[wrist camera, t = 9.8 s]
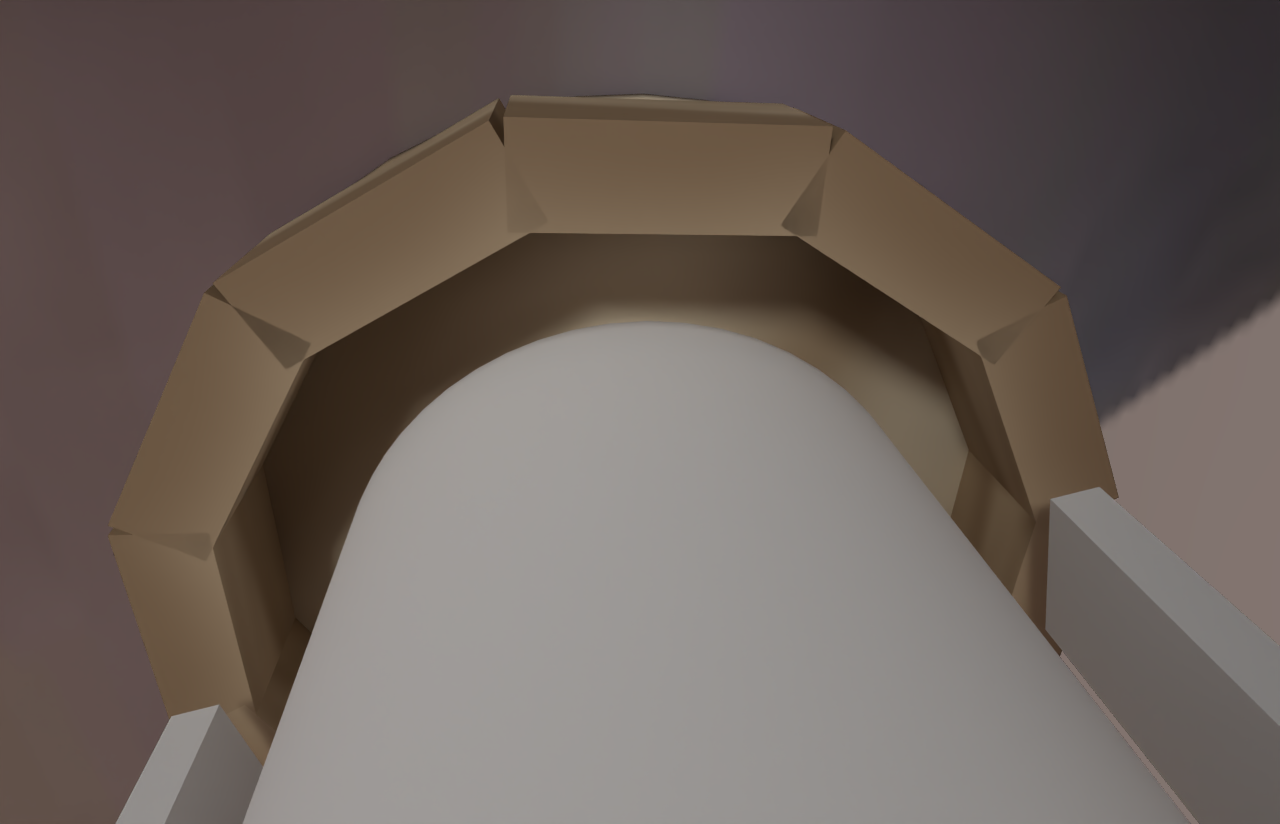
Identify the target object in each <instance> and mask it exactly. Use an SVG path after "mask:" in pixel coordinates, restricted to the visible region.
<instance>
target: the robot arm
mask: <svg viewBox="0 0 1280 824" xmlns="http://www.w3.org/2000/svg"><path fill="white" fill-rule="evenodd" d="M1045 630H1046V631H1047V632H1048V633H1049V635H1050V636H1051V637H1052V638H1053V640H1054V641H1055V642H1056V643H1057V645H1058V646H1059V647H1060V648H1061V650H1062V651H1063V652H1064V654H1065V655H1066V656H1067V657H1068V658H1069V660H1070V661H1071V662H1072V664H1073V665H1074V666H1075V667H1076V669H1077V670H1078V671H1079V672H1080V674H1081V675H1082V676H1083V677H1084V679H1085V680H1086V681H1087V682H1088V684H1089V685H1090V686H1091V688H1092V689H1093V690H1094V691H1095V693H1096V694H1097V695H1098V696H1099V698H1100V699H1101V700H1102V701H1103V703H1104V704H1105V705H1106V706H1107V708H1108V709H1109V710H1110V712H1112V714H1113V715H1114V717H1115V718H1116V719H1117V720H1118V722H1119V723H1120V724H1121V725H1122V727H1123V728H1124V729H1125V730H1126V732H1127V733H1128V734H1129V735H1130V737H1131V738H1132V739H1133V740H1134V742H1135V743H1136V744H1137V746H1138V747H1139V748H1140V749H1141V751H1142V752H1143V753H1144V754H1145V756H1146V757H1147V758H1148V759H1149V761H1150V762H1151V763H1152V764H1153V766H1154V767H1155V768H1156V770H1157V771H1158V772H1159V773H1160V775H1161V776H1162V777H1163V778H1164V780H1165V781H1166V782H1167V783H1168V785H1169V786H1170V787H1171V789H1172V790H1173V791H1174V792H1175V794H1176V795H1177V796H1178V797H1179V798H1180V800H1181V801H1182V802H1183V804H1184V805H1185V806H1186V807H1187V808H1188V810H1189V811H1190V812H1191V814H1192V815H1193V816H1194V817H1195V819H1196V820H1197V821H1198V822H1199V824H1280V646H1279V645H1278V644H1277V643H1276V642H1275V641H1274V640H1272V639H1271V638H1270V637H1269V636H1268V635H1267V634H1266V633H1265V632H1263V631H1262V630H1261V629H1260V628H1259V627H1258V626H1256V625H1255V624H1254V623H1253V622H1252V621H1251V620H1250V619H1249V618H1248V617H1246V616H1245V615H1244V614H1243V613H1242V612H1241V611H1240V610H1238V609H1237V608H1236V607H1235V606H1234V605H1233V604H1232V603H1231V602H1229V601H1228V600H1227V599H1226V598H1225V597H1224V596H1222V595H1221V594H1220V593H1219V592H1218V591H1217V590H1216V589H1215V588H1214V587H1212V586H1211V585H1210V584H1209V583H1208V582H1207V581H1206V580H1204V579H1203V578H1202V577H1201V576H1200V575H1199V574H1198V573H1197V572H1195V571H1194V570H1193V569H1192V568H1191V567H1190V566H1188V565H1187V564H1186V563H1185V562H1184V561H1183V560H1182V559H1181V558H1179V557H1178V556H1177V555H1176V554H1175V553H1174V552H1173V551H1172V550H1170V549H1169V548H1168V547H1167V546H1166V545H1165V544H1164V543H1163V542H1161V541H1160V540H1159V539H1158V538H1157V537H1156V536H1155V535H1153V534H1152V533H1151V532H1150V531H1149V530H1148V529H1146V528H1145V527H1144V526H1143V525H1142V524H1141V523H1140V522H1139V521H1138V520H1136V519H1135V518H1134V517H1133V516H1132V515H1131V514H1130V513H1128V512H1127V511H1126V510H1125V509H1124V508H1123V507H1122V506H1121V505H1119V504H1118V503H1117V502H1116V501H1115V500H1114V499H1113V498H1111V497H1110V496H1109V495H1108V494H1107V493H1106V492H1105V491H1104V490H1102V489H1101V488H1100V487H1097V488H1093V489H1089V490H1084V491H1080V492H1076V493H1072V494H1068V495H1064V496H1060V497H1056V498H1052V499H1050V520H1049V547H1048V573H1047V599H1046V626H1045ZM262 769H263V766H262V765H261V763H260V762H259V760H258V759H257V757H256V756H255V755H254V753H253V752H252V750H251V749H250V747H249V746H248V745H247V743H246V742H245V740H244V739H243V737H242V736H241V735H240V733H239V732H238V730H237V729H236V727H235V726H234V725H233V723H232V722H231V720H230V719H229V717H228V716H227V715H226V713H225V712H224V710H223V709H222V707H221V706H220V705H215V706H211V707H207V708H203V709H199V710H195V711H191V712H187V713H183V714H179V715H175V716H171V718H170V720H169V722H168V724H167V726H166V728H165V730H164V732H163V734H162V735H161V737H160V739H159V741H158V743H157V745H156V747H155V749H154V751H153V753H152V755H151V757H150V759H149V761H148V762H147V764H146V766H145V768H144V770H143V772H142V774H141V776H140V778H139V780H138V782H137V784H136V786H135V787H134V789H133V791H132V793H131V795H130V797H129V799H128V801H127V803H126V805H125V807H124V809H123V811H122V813H121V814H120V816H119V818H118V820H117V822H116V824H243V821H244V818H245V815H246V813H247V810H248V807H249V805H250V802H251V799H252V796H253V794H254V791H255V788H256V785H257V783H258V780H259V777H260V774H261V772H262Z"/></svg>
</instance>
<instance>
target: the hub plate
mask: <svg viewBox="0 0 1280 824" xmlns="http://www.w3.org/2000/svg"><path fill="white" fill-rule="evenodd" d="M213 284H214V285H213V286H212V287H210V288H209V289H208V290H207V291H206V292H205V293H204V295H203V297H202V299H201V302H200V304H199V307H198V309H197V311H196V314H195V316H194V319H193V321H192V324H191V326H190V328H189V331H188V333H187V336H186V338H185V340H184V343H183V345H182V348H181V350H180V353H179V355H178V357H177V360H176V362H175V365H174V367H173V369H172V372H171V374H170V377H169V379H168V382H167V384H166V386H165V389H164V391H163V394H162V396H161V399H160V401H159V403H158V406H157V408H156V411H155V413H154V415H153V418H152V420H151V423H150V425H149V428H148V430H147V432H146V435H145V437H144V440H143V442H142V444H141V447H140V449H139V452H138V454H137V457H136V459H135V461H134V464H133V466H132V469H131V471H130V473H129V476H128V478H127V481H126V483H125V486H124V488H123V490H122V493H121V495H120V498H119V500H118V503H117V505H116V507H115V510H114V512H113V515H112V517H111V519H110V522H109V524H108V526H110V527H113V530H112V531H111V532H110V533H109V535H108V538H109V541H110V544H111V547H112V550H113V553H114V556H115V559H116V562H117V565H118V568H119V571H120V574H121V577H122V580H123V583H124V586H125V589H126V592H127V595H128V598H129V601H130V604H131V606H132V609H133V612H134V615H135V618H136V621H137V624H138V627H139V630H140V633H141V636H142V639H143V642H144V645H145V648H146V651H147V654H148V657H149V660H150V663H151V666H152V669H153V672H154V675H155V678H156V681H157V684H158V687H159V690H160V693H161V696H162V699H163V702H164V705H165V708H166V711H167V714H168V717H169V720H170V718H171V716H175V715H179V714H183V713H187V712H191V711H195V710H199V709H203V708H207V707H211V706H215V705H220V706H221V707H222V709H223V710H224V712H225V713H226V715H227V716H228V717H229V719H230V720H231V722H232V723H233V725H234V726H235V727H236V729H237V730H238V732H239V733H240V735H241V736H242V737H243V739H244V740H245V742H246V743H247V745H248V746H249V747H250V749H251V750H252V752H253V753H254V755H255V756H256V757H257V759H258V760H259V762H260V763H261V765H262V766H264V764H265V761H266V758H267V755H268V753H269V750H270V747H271V744H272V742H273V739H274V736H275V733H276V731H277V728H278V725H279V722H280V720H281V717H282V714H283V711H284V709H285V706H286V703H287V700H288V698H289V695H290V692H291V689H292V687H293V684H294V681H295V678H296V676H297V673H298V670H299V667H300V665H301V662H302V659H303V656H304V653H305V651H306V648H307V645H308V642H309V640H310V637H311V634H312V631H313V629H314V626H315V623H316V620H317V618H318V615H319V612H320V609H321V607H322V604H323V601H324V598H325V596H326V593H327V590H328V587H329V584H330V582H331V579H332V576H333V573H334V571H335V568H336V565H337V562H338V560H339V557H340V554H341V551H342V549H343V546H344V543H345V540H346V538H347V535H348V532H349V529H350V527H351V524H352V521H353V518H354V516H355V513H356V510H357V507H358V505H359V502H360V500H361V498H362V495H363V493H364V491H365V489H366V487H367V485H368V483H369V481H370V479H371V477H372V475H373V473H374V472H375V470H376V468H377V467H378V465H379V463H380V462H381V460H382V459H383V457H384V455H385V454H386V452H387V451H388V450H389V448H390V447H391V446H392V444H393V443H394V442H395V440H396V439H397V438H398V437H399V435H400V434H401V433H402V432H403V431H404V430H405V428H406V427H407V426H408V425H409V424H410V423H411V422H412V421H413V420H414V419H415V418H416V417H417V416H418V415H419V414H420V412H421V411H422V410H423V409H424V408H426V407H427V406H428V405H429V404H430V403H431V402H433V401H434V400H435V399H436V398H437V397H438V396H440V395H441V394H442V393H443V392H444V391H445V390H447V389H448V388H449V387H451V386H452V385H454V384H455V383H457V382H458V381H459V380H461V379H462V378H464V377H465V376H467V375H468V374H470V373H471V372H473V371H474V370H476V369H478V368H479V367H481V366H483V365H485V364H487V363H489V362H491V361H492V360H494V359H496V358H498V357H500V356H502V355H504V354H505V353H508V352H510V351H513V350H515V349H517V348H520V347H522V346H525V345H527V344H530V343H532V342H535V341H537V340H540V339H543V338H547V337H550V336H554V335H557V334H561V333H564V332H567V331H571V330H575V329H581V328H586V327H592V326H598V325H603V324H609V323H623V322H638V321H660V322H681V323H689V324H696V325H702V326H708V327H714V328H720V329H724V330H728V331H731V332H735V333H738V334H742V335H745V336H749V337H752V338H756V339H758V340H761V341H763V342H766V343H768V344H770V345H773V346H775V347H778V348H780V349H782V350H785V351H787V352H789V353H791V354H793V355H794V356H796V357H798V358H800V359H801V360H803V361H805V362H807V363H808V364H810V365H812V366H814V367H815V368H817V369H819V370H820V371H821V372H823V373H824V374H825V375H827V376H828V377H829V378H831V379H832V380H833V381H835V382H836V383H837V384H839V385H840V386H841V387H842V388H844V389H845V390H846V391H847V392H848V393H849V394H850V395H851V396H852V397H854V398H855V399H856V400H857V401H858V402H859V403H860V404H861V405H862V406H863V407H864V408H865V409H866V410H867V412H868V413H869V414H870V415H871V416H872V417H873V419H874V420H875V421H876V422H877V424H878V425H879V426H880V428H881V429H882V430H883V431H884V433H885V434H886V435H887V436H888V438H889V439H890V440H891V442H892V443H893V444H894V445H895V447H896V448H897V449H898V451H899V452H900V453H901V454H902V456H903V457H904V458H905V460H906V461H907V462H908V463H909V465H910V466H911V467H912V468H913V470H914V471H915V472H916V474H917V475H918V476H919V477H920V479H921V480H922V481H923V483H924V484H925V485H926V486H927V488H928V489H929V490H930V492H931V493H932V494H933V495H934V497H935V498H936V499H937V500H938V502H939V503H940V504H941V506H942V507H943V508H944V509H945V511H946V512H947V513H948V515H949V516H950V517H951V518H952V520H953V521H954V522H955V523H956V525H957V526H958V527H959V529H960V530H961V531H962V532H963V534H964V535H965V536H966V538H967V539H968V540H969V541H970V543H971V544H972V545H973V547H974V548H975V549H976V550H977V552H978V553H979V554H980V555H981V557H982V558H983V559H984V561H985V562H986V563H987V564H988V566H989V567H990V568H991V570H992V571H993V572H994V573H995V575H996V576H997V577H998V579H999V580H1000V581H1001V582H1002V584H1003V585H1004V586H1005V587H1006V589H1007V590H1008V591H1009V593H1010V594H1011V595H1012V596H1013V598H1014V599H1015V600H1016V601H1017V603H1018V604H1019V605H1020V607H1021V608H1022V609H1023V610H1024V612H1025V613H1026V614H1027V615H1028V617H1029V618H1030V619H1031V621H1032V622H1033V623H1034V624H1035V626H1036V627H1037V628H1038V630H1039V631H1040V632H1041V633H1042V635H1043V636H1044V637H1045V638H1046V640H1047V641H1048V642H1049V644H1050V645H1051V646H1052V647H1053V649H1054V650H1055V651H1056V652H1057V654H1058V655H1059V656H1060V654H1061V652H1062V650H1061V648H1060V647H1059V646H1058V645H1057V643H1056V642H1055V641H1054V640H1053V638H1052V637H1051V636H1050V635H1049V633H1048V632H1047V631H1046V630H1045V626H1046V599H1047V573H1048V547H1049V520H1050V499H1052V498H1056V497H1060V496H1064V495H1068V494H1072V493H1076V492H1080V491H1084V490H1089V489H1093V488H1097V487H1100V488H1101V489H1102V490H1104V491H1105V492H1106V493H1107V494H1108V495H1109V496H1110V497H1111V498H1113V499H1116V498H1118V493H1117V489H1116V485H1115V481H1114V477H1113V473H1112V469H1111V466H1110V462H1109V458H1108V454H1107V450H1106V446H1105V442H1104V439H1103V435H1102V431H1101V427H1100V423H1099V419H1098V415H1097V411H1096V407H1095V404H1094V400H1093V396H1092V392H1091V388H1090V384H1089V380H1088V376H1087V373H1086V369H1085V365H1084V361H1083V357H1082V353H1081V349H1080V345H1079V342H1078V338H1077V334H1076V330H1075V326H1074V322H1073V318H1072V314H1071V311H1070V307H1069V303H1068V299H1067V296H1066V295H1064V294H1063V293H1061V292H1059V291H1058V290H1059V289H1060V288H1061V287H1060V286H1058V285H1057V284H1056V283H1054V282H1053V281H1052V280H1050V279H1049V278H1048V277H1046V276H1045V275H1043V274H1042V273H1041V272H1039V271H1038V270H1037V269H1035V268H1034V267H1032V266H1031V265H1030V264H1028V263H1027V262H1026V261H1024V260H1023V259H1021V258H1020V257H1019V256H1017V255H1016V254H1015V253H1013V252H1012V251H1010V250H1009V249H1008V248H1006V247H1005V246H1004V245H1002V244H1001V243H999V242H998V241H997V240H995V239H994V238H993V237H991V236H990V235H988V234H987V233H986V232H984V231H983V230H982V229H980V228H979V227H977V226H976V225H975V224H973V223H972V222H971V221H969V220H968V219H967V218H965V217H964V216H962V215H961V214H960V213H958V212H957V211H956V210H954V209H953V208H951V207H950V206H949V205H947V204H946V203H945V202H943V201H942V200H940V199H939V198H938V197H936V196H935V195H934V194H932V193H931V192H929V191H928V190H927V189H925V188H924V187H923V186H921V185H920V184H918V183H917V182H916V181H914V180H913V179H912V178H910V177H909V176H907V175H906V174H905V173H903V172H902V171H901V170H899V169H898V168H896V167H895V166H894V165H892V164H891V163H890V162H888V161H887V160H885V159H884V158H883V157H881V156H880V155H879V154H877V153H876V152H875V151H873V150H872V149H870V148H869V147H868V146H866V145H865V144H864V143H862V142H861V141H859V140H858V139H857V138H855V137H854V136H853V135H851V134H850V133H848V132H847V131H846V130H843V129H841V128H839V127H837V126H834V125H832V124H830V123H827V122H825V121H823V120H821V119H818V118H816V117H814V116H812V115H809V114H807V113H805V112H803V111H800V110H798V109H796V108H794V107H793V108H791V107H789V106H786V105H784V104H776V103H744V102H713V101H708V100H699V99H689V98H680V97H670V96H660V95H651V94H624V95H597V96H576V97H555V96H524V95H511V96H510V99H509V102H508V105H507V108H506V110H505V108H504V106H503V104H502V103H501V101H500V99H499V98H498V99H497V100H495V101H493V102H492V103H490V104H488V105H486V106H485V107H483V108H481V109H480V110H478V111H476V112H475V113H473V114H471V115H470V116H468V117H466V118H465V119H463V120H461V121H459V122H458V123H456V124H454V125H453V126H451V127H449V128H448V129H446V130H444V131H443V132H441V133H439V134H438V135H436V136H434V137H432V138H430V139H428V140H426V141H424V142H422V143H420V144H418V145H416V146H414V147H412V148H410V149H408V150H406V151H404V152H402V153H400V154H398V155H396V156H394V157H392V158H390V159H389V160H387V161H386V162H385V163H383V164H382V165H380V166H379V167H377V168H376V169H374V170H373V171H372V172H370V173H369V174H367V175H366V176H364V177H363V178H362V179H360V180H359V181H357V182H356V183H354V184H353V185H351V186H350V187H348V188H346V189H345V190H343V191H341V192H340V193H338V194H336V195H335V196H333V197H331V198H330V199H328V200H326V201H324V202H323V203H321V204H319V205H318V206H316V207H314V208H313V209H311V210H309V211H308V212H306V213H304V214H303V215H301V216H299V217H297V218H296V219H294V220H292V221H291V222H289V223H287V224H286V225H284V226H282V227H281V228H279V229H277V230H276V231H274V232H272V233H271V234H269V235H268V236H267V237H266V238H265V239H264V240H262V241H261V242H260V243H259V244H258V245H257V246H255V247H254V248H253V249H252V250H251V251H250V252H248V253H247V254H246V255H245V256H244V257H243V258H241V259H240V260H239V261H238V262H237V263H236V264H234V265H233V266H232V267H231V268H230V269H229V270H227V271H226V272H225V273H224V274H223V275H222V276H221V277H219V278H218V279H217V280H216V281H215V282H214V283H213Z"/></svg>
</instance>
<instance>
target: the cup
mask: <svg viewBox="0 0 1280 824" xmlns="http://www.w3.org/2000/svg"><path fill="white" fill-rule="evenodd" d="M243 824H1191V823H1190V822H1189V821H1188V819H1187V818H1186V817H1185V816H1184V815H1183V813H1182V812H1181V811H1180V809H1179V808H1178V807H1177V805H1176V804H1175V803H1174V802H1173V800H1172V799H1171V798H1170V797H1169V795H1168V794H1167V793H1166V792H1165V790H1164V789H1163V788H1162V786H1161V785H1160V784H1159V783H1158V781H1157V780H1156V779H1155V777H1154V776H1153V775H1152V774H1151V772H1149V770H1148V768H1147V767H1146V766H1145V765H1144V763H1143V762H1142V761H1141V760H1140V758H1139V757H1138V756H1137V754H1136V753H1135V752H1134V751H1133V749H1132V748H1131V747H1130V746H1129V744H1128V743H1127V742H1126V740H1125V739H1124V738H1123V737H1122V735H1121V734H1120V733H1119V732H1118V730H1117V729H1116V728H1115V726H1114V725H1113V724H1112V723H1111V721H1110V720H1109V719H1108V718H1107V716H1106V715H1105V714H1104V713H1103V711H1102V710H1101V709H1100V707H1099V706H1098V705H1097V704H1096V702H1095V701H1094V700H1093V698H1092V697H1091V696H1090V695H1089V693H1088V692H1087V691H1086V689H1085V688H1084V687H1083V686H1082V684H1081V683H1080V682H1079V681H1078V679H1077V678H1076V677H1075V676H1074V674H1073V673H1072V672H1071V670H1070V669H1069V668H1068V666H1067V665H1066V664H1065V663H1064V661H1063V660H1062V659H1061V658H1060V656H1059V655H1058V654H1057V652H1056V651H1055V650H1054V649H1053V647H1052V646H1051V645H1050V644H1049V642H1048V641H1047V640H1046V638H1045V637H1044V636H1043V635H1042V633H1041V632H1040V631H1039V630H1038V628H1037V627H1036V626H1035V624H1034V623H1033V622H1032V621H1031V619H1030V618H1029V617H1028V615H1027V614H1026V613H1025V612H1024V610H1023V609H1022V608H1021V607H1020V605H1019V604H1018V603H1017V601H1016V600H1015V599H1014V598H1013V596H1012V595H1011V594H1010V593H1009V591H1008V590H1007V589H1006V587H1005V586H1004V585H1003V584H1002V582H1001V581H1000V580H999V579H998V577H997V576H996V575H995V573H994V572H993V571H992V570H991V568H990V567H989V566H988V564H987V563H986V562H985V561H984V559H983V558H982V557H981V555H980V554H979V553H978V552H977V550H976V549H975V548H974V547H973V545H972V544H971V543H970V541H969V540H968V539H967V538H966V536H965V535H964V534H963V532H962V531H961V530H960V529H959V527H958V526H957V525H956V523H955V522H954V521H953V520H952V518H951V517H950V516H949V515H948V513H947V512H946V511H945V509H944V508H943V507H942V506H941V504H940V503H939V502H938V500H937V499H936V498H935V497H934V495H933V494H932V493H931V492H930V490H929V489H928V488H927V486H926V485H925V484H924V483H923V481H922V480H921V479H920V477H919V476H918V475H917V474H916V472H915V471H914V470H913V468H912V467H911V466H910V465H909V463H908V462H907V461H906V460H905V458H904V457H903V456H902V454H901V453H900V452H899V451H898V449H897V448H896V447H895V445H894V444H893V443H892V442H891V440H890V439H889V438H888V436H887V435H886V434H885V433H884V431H883V430H882V429H881V428H880V426H879V425H878V424H877V422H876V421H875V420H874V419H873V417H872V416H871V415H870V414H869V413H868V412H867V410H866V409H865V408H864V407H863V406H862V405H861V404H860V403H859V402H858V401H857V400H856V399H855V398H854V397H852V396H851V395H850V394H849V393H848V392H847V391H846V390H845V389H844V388H842V387H841V386H840V385H839V384H837V383H836V382H835V381H833V380H832V379H831V378H829V377H828V376H827V375H825V374H824V373H823V372H821V371H820V370H819V369H817V368H815V367H814V366H812V365H810V364H808V363H807V362H805V361H803V360H801V359H800V358H798V357H796V356H794V355H793V354H791V353H789V352H787V351H785V350H782V349H780V348H778V347H775V346H773V345H770V344H768V343H766V342H763V341H761V340H758V339H756V338H752V337H749V336H745V335H742V334H738V333H735V332H731V331H728V330H724V329H720V328H714V327H708V326H702V325H696V324H689V323H681V322H660V321H638V322H623V323H609V324H603V325H598V326H592V327H586V328H581V329H575V330H571V331H567V332H564V333H561V334H557V335H554V336H550V337H547V338H543V339H540V340H537V341H535V342H532V343H530V344H527V345H525V346H522V347H520V348H517V349H515V350H513V351H510V352H508V353H505V354H504V355H502V356H500V357H498V358H496V359H494V360H492V361H491V362H489V363H487V364H485V365H483V366H481V367H479V368H478V369H476V370H474V371H473V372H471V373H470V374H468V375H467V376H465V377H464V378H462V379H461V380H459V381H458V382H457V383H455V384H454V385H452V386H451V387H449V388H448V389H447V390H445V391H444V392H443V393H442V394H441V395H440V396H438V397H437V398H436V399H435V400H434V401H433V402H431V403H430V404H429V405H428V406H427V407H426V408H424V409H423V410H422V411H421V412H420V414H419V415H418V416H417V417H416V418H415V419H414V420H413V421H412V422H411V423H410V424H409V425H408V426H407V427H406V428H405V430H404V431H403V432H402V433H401V434H400V435H399V437H398V438H397V439H396V440H395V442H394V443H393V444H392V446H391V447H390V448H389V450H388V451H387V452H386V454H385V455H384V457H383V459H382V460H381V462H380V463H379V465H378V467H377V468H376V470H375V472H374V473H373V475H372V477H371V479H370V481H369V483H368V485H367V487H366V489H365V491H364V493H363V495H362V498H361V500H360V502H359V505H358V507H357V510H356V513H355V516H354V518H353V521H352V524H351V527H350V529H349V532H348V535H347V538H346V540H345V543H344V546H343V549H342V551H341V554H340V557H339V560H338V562H337V565H336V568H335V571H334V573H333V576H332V579H331V582H330V584H329V587H328V590H327V593H326V596H325V598H324V601H323V604H322V607H321V609H320V612H319V615H318V618H317V620H316V623H315V626H314V629H313V631H312V634H311V637H310V640H309V642H308V645H307V648H306V651H305V653H304V656H303V659H302V662H301V665H300V667H299V670H298V673H297V676H296V678H295V681H294V684H293V687H292V689H291V692H290V695H289V698H288V700H287V703H286V706H285V709H284V711H283V714H282V717H281V720H280V722H279V725H278V728H277V731H276V733H275V736H274V739H273V742H272V744H271V747H270V750H269V753H268V755H267V758H266V761H265V764H264V766H263V769H262V772H261V774H260V777H259V780H258V783H257V785H256V788H255V791H254V794H253V796H252V799H251V802H250V805H249V807H248V810H247V813H246V815H245V818H244V821H243Z"/></svg>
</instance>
